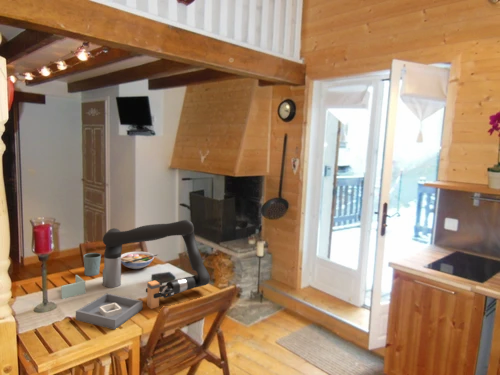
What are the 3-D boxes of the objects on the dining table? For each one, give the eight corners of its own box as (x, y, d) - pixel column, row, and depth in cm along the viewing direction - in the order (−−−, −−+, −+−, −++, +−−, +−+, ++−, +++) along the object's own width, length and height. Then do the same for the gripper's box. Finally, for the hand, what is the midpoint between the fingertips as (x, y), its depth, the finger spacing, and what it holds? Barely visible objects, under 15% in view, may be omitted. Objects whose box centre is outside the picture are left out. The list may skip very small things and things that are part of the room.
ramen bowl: (142, 258, 262) (142, 247, 261) (162, 267, 248) (162, 255, 247) (110, 267, 243) (110, 255, 242) (129, 276, 229) (129, 264, 228)
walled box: (75, 319, 174) (75, 311, 173) (106, 301, 195) (106, 293, 194) (115, 329, 168) (115, 320, 167) (142, 309, 189) (142, 300, 188)
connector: (151, 309, 189) (151, 285, 187) (146, 305, 193) (147, 282, 191) (159, 306, 192) (159, 283, 191) (154, 303, 196) (155, 280, 194)
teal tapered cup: (79, 274, 228) (79, 256, 226) (91, 269, 237) (91, 251, 235) (93, 277, 225) (93, 258, 223) (104, 272, 234) (104, 253, 233)
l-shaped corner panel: (77, 287, 211) (77, 274, 210) (85, 294, 203) (85, 281, 202) (54, 292, 203) (54, 279, 202) (62, 300, 194) (62, 286, 193)
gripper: (170, 275, 206) (143, 282, 195) (184, 284, 196) (156, 291, 185) (170, 288, 207) (143, 295, 196) (183, 297, 197) (156, 305, 186)
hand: (150, 293), depth 190 cm, fingers open, 8 cm apart
